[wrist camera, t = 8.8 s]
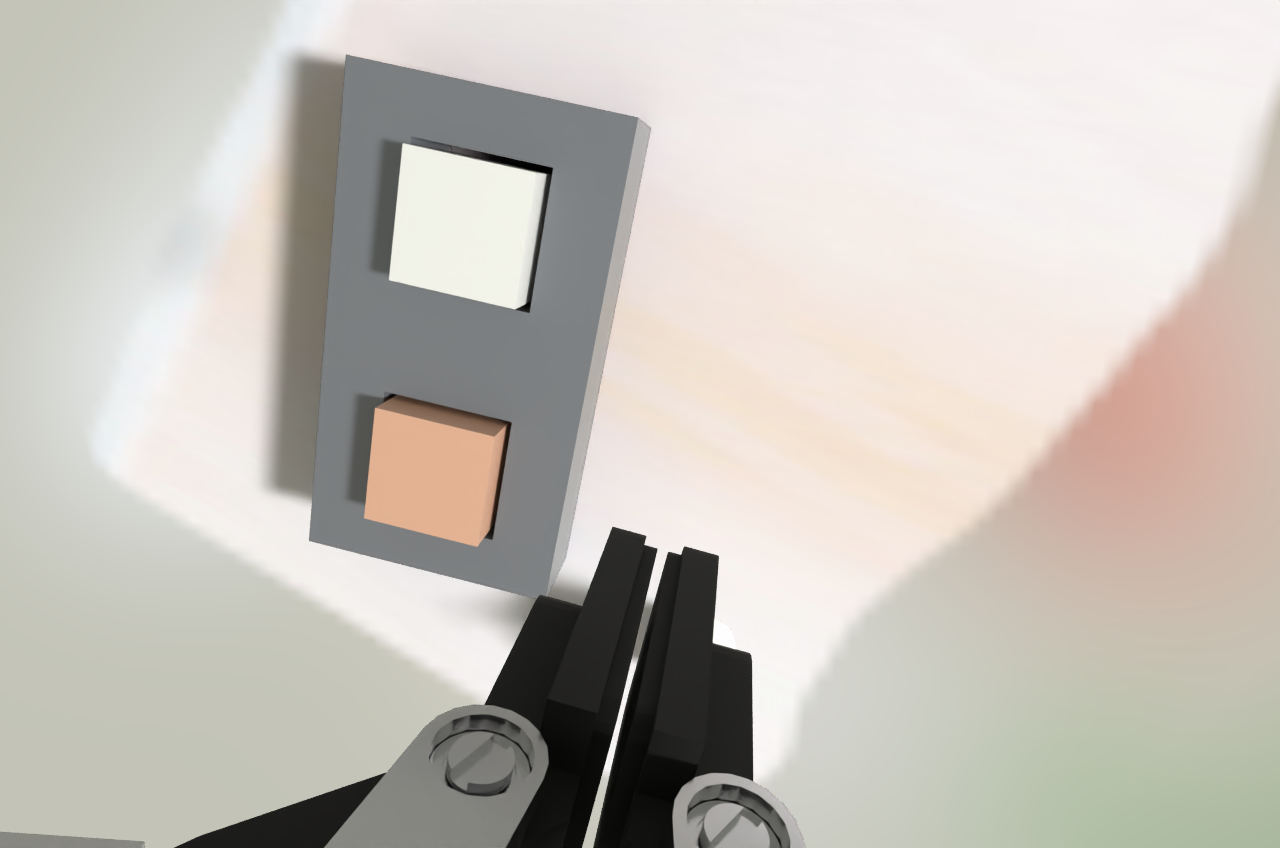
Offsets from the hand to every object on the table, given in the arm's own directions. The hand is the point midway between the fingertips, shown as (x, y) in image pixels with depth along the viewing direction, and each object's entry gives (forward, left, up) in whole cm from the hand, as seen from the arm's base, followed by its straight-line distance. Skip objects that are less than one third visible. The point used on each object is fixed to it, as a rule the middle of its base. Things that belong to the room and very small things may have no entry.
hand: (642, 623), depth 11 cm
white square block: (-3, -11, -24) cm, 26 cm away
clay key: (+8, -11, -24) cm, 27 cm away
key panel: (+2, -11, -26) cm, 28 cm away
